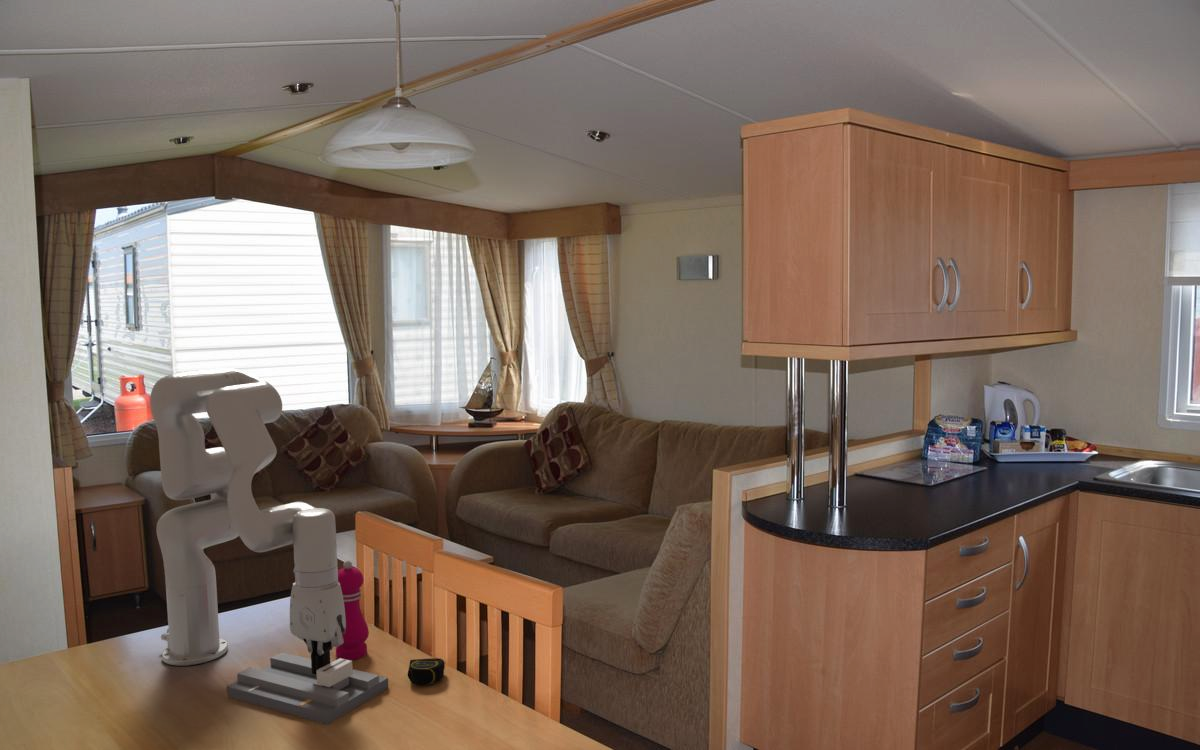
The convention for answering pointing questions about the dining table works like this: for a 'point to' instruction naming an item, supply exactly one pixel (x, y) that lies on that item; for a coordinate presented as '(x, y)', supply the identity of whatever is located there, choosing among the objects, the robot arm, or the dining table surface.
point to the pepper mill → (352, 614)
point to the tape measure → (426, 671)
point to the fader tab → (335, 674)
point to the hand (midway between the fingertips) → (321, 671)
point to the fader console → (303, 689)
